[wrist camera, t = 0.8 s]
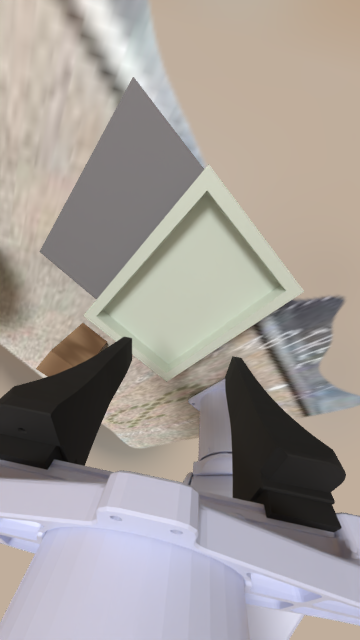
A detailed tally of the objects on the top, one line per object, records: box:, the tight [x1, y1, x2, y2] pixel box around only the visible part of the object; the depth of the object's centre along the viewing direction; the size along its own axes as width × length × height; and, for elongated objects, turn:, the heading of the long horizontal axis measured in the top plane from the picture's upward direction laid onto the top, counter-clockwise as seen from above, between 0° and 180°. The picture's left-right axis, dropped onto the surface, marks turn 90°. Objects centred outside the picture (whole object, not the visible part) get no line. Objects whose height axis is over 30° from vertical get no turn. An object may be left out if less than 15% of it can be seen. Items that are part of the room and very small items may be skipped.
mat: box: [40, 77, 204, 299], centre depth 20 cm, size 22×17×1 cm
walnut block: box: [36, 323, 107, 377], centre depth 24 cm, size 4×4×6 cm
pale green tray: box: [83, 164, 304, 382], centre depth 19 cm, size 12×17×3 cm
